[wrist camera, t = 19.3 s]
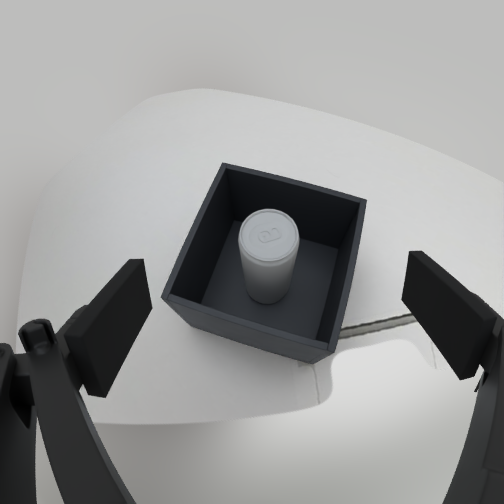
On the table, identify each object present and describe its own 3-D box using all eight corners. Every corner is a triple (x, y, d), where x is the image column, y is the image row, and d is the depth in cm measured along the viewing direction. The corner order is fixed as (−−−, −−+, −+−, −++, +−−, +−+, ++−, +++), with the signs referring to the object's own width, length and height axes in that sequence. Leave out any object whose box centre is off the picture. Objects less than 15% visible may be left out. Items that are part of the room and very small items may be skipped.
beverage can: (240, 272, 36) (229, 217, 25) (280, 259, 37) (286, 200, 26) (253, 311, 34) (248, 271, 23) (295, 297, 35) (310, 251, 24)
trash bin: (189, 325, 35) (160, 297, 25) (232, 219, 40) (222, 162, 30) (312, 364, 32) (334, 352, 22) (342, 249, 38) (367, 199, 28)
